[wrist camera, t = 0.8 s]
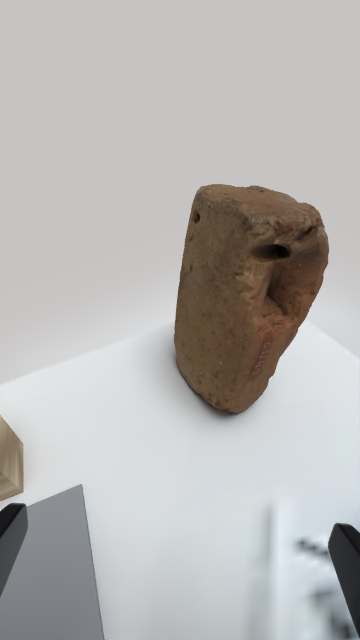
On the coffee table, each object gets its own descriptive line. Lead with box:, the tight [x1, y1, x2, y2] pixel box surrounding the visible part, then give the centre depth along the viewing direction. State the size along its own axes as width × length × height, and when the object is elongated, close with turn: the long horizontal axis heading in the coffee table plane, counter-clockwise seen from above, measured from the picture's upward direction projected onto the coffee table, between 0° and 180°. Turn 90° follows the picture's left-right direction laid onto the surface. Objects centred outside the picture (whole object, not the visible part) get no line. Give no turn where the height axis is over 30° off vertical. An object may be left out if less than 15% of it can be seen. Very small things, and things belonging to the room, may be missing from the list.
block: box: [174, 184, 329, 414], centre depth 23 cm, size 11×8×20 cm
